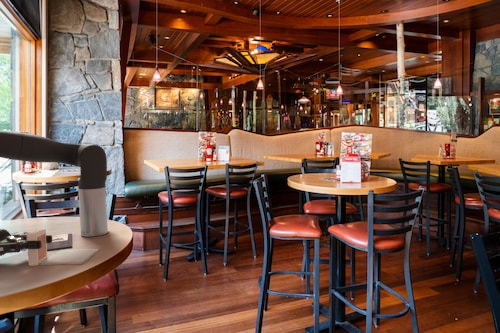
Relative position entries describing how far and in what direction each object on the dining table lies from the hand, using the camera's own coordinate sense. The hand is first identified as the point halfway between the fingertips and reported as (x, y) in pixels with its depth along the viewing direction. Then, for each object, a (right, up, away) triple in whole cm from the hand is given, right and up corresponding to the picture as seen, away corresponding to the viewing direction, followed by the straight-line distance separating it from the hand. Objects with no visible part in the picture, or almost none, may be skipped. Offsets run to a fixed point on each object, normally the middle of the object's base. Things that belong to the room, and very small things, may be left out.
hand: (46, 241), depth 105 cm
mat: (+5, -6, +4) cm, 9 cm away
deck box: (-3, -6, +1) cm, 7 cm away
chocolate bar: (-8, -5, +20) cm, 22 cm away
